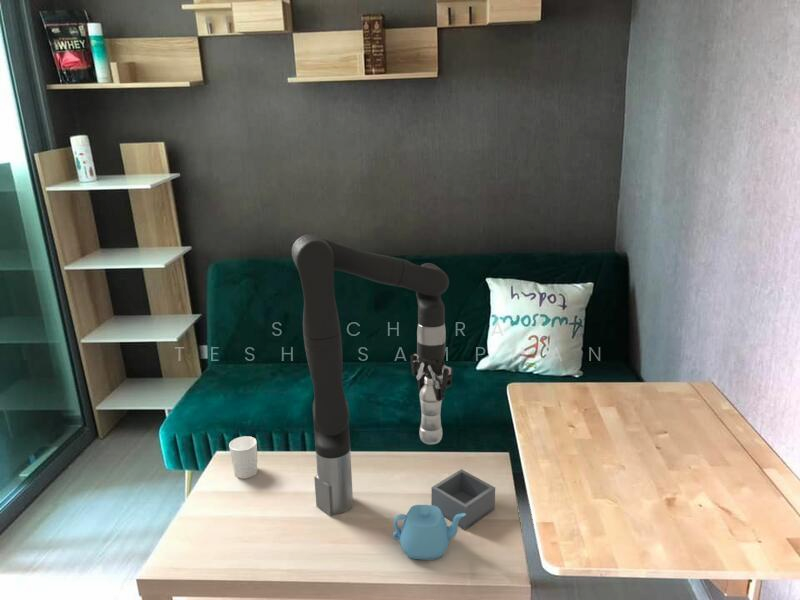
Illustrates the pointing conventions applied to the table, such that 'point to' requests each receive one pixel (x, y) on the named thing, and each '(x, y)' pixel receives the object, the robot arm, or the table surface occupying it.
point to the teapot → (425, 532)
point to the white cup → (244, 456)
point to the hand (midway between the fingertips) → (431, 395)
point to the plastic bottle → (430, 412)
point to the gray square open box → (464, 498)
